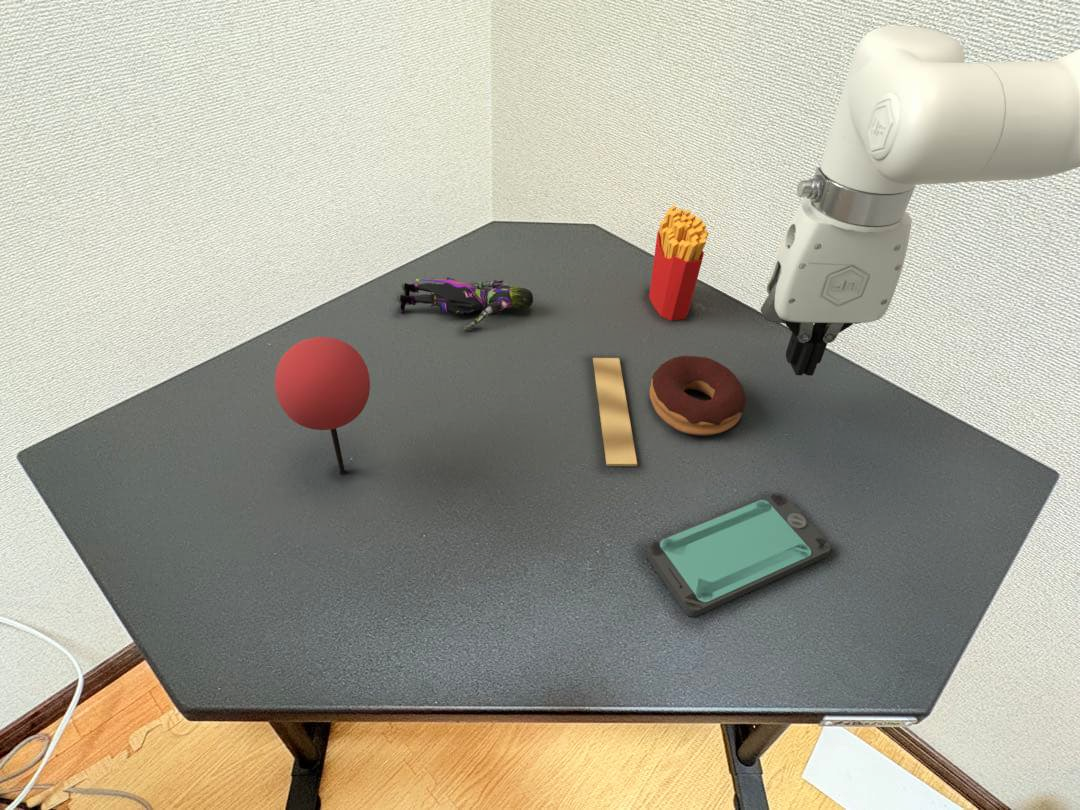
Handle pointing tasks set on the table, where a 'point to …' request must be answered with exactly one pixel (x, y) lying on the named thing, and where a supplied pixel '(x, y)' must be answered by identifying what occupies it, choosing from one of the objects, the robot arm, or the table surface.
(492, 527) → the table surface
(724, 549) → the smartphone
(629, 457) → the strip
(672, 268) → the french fries
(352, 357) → the lollipop
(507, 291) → the character figure
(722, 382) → the donut
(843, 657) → the table surface
